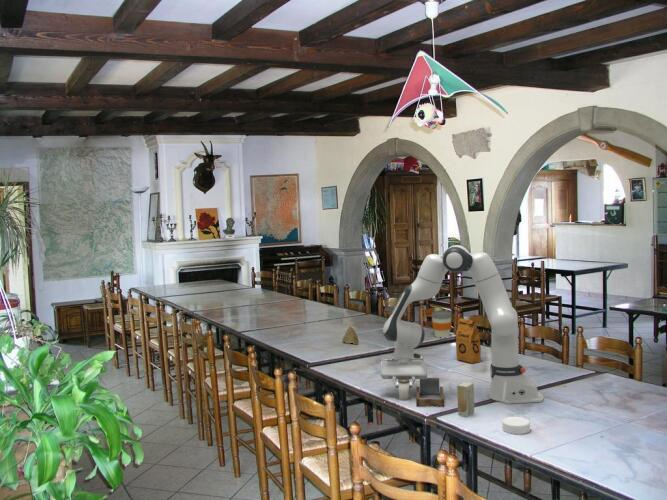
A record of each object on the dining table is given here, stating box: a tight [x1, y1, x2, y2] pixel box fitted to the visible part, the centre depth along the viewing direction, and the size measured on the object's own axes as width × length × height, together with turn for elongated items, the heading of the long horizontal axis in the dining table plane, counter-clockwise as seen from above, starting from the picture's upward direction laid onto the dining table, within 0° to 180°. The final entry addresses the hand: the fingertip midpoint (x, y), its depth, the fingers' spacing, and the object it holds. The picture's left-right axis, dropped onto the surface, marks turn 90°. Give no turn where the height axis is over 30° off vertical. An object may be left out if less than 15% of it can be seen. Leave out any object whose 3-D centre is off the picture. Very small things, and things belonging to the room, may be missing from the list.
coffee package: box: [455, 318, 482, 364], centre depth 340 cm, size 10×12×22 cm
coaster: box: [501, 416, 531, 435], centre depth 240 cm, size 10×10×4 cm
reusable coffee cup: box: [430, 310, 453, 338], centre depth 403 cm, size 13×13×15 cm
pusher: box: [419, 377, 440, 395], centre depth 288 cm, size 8×5×7 cm, turn 82°
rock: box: [341, 326, 359, 345], centre depth 392 cm, size 11×9×10 cm
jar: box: [397, 378, 411, 402], centre depth 281 cm, size 5×5×8 cm
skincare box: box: [456, 381, 475, 417], centre depth 259 cm, size 6×4×12 cm
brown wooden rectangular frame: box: [415, 386, 445, 408], centre depth 279 cm, size 11×18×3 cm, turn 172°
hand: (403, 387), depth 280 cm, fingers closed on jar, 5 cm apart
